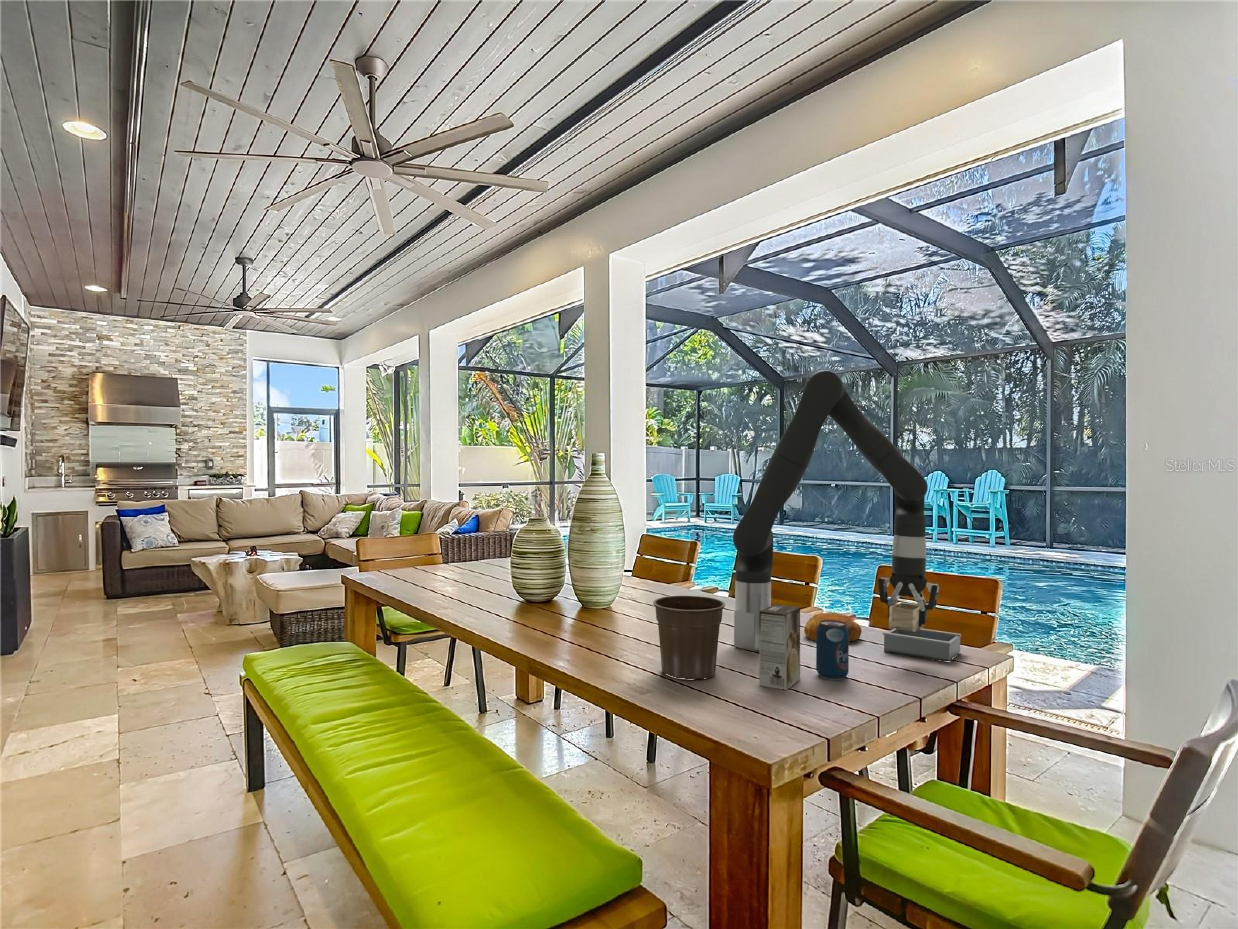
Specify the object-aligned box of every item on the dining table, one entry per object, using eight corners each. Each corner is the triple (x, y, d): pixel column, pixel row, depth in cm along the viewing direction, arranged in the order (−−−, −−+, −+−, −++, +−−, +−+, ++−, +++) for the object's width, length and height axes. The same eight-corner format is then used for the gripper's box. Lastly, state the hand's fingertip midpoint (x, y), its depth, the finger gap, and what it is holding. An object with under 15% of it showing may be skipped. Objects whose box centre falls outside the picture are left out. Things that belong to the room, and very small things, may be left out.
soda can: (845, 683, 147) (845, 627, 147) (812, 677, 150) (813, 623, 150) (851, 674, 153) (851, 621, 153) (820, 670, 156) (820, 618, 156)
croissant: (865, 652, 181) (870, 623, 181) (808, 643, 181) (812, 614, 181) (849, 637, 195) (853, 610, 195) (795, 629, 196) (799, 602, 195)
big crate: (950, 663, 163) (950, 642, 163) (883, 651, 173) (883, 632, 173) (961, 653, 172) (961, 634, 172) (896, 643, 182) (896, 625, 182)
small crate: (915, 631, 158) (915, 610, 158) (888, 627, 162) (889, 606, 162) (924, 626, 165) (924, 605, 165) (898, 622, 168) (899, 602, 168)
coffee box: (772, 675, 152) (773, 603, 152) (800, 679, 149) (801, 607, 149) (758, 685, 144) (758, 610, 144) (787, 691, 141) (788, 614, 141)
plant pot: (716, 688, 142) (716, 611, 143) (643, 679, 148) (643, 605, 148) (730, 667, 158) (731, 598, 158) (664, 660, 163) (664, 593, 163)
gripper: (873, 552, 165) (871, 621, 165) (936, 559, 156) (934, 631, 156) (883, 550, 171) (881, 616, 171) (944, 556, 162) (942, 626, 162)
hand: (906, 623), depth 163 cm, fingers closed on small crate, 6 cm apart
